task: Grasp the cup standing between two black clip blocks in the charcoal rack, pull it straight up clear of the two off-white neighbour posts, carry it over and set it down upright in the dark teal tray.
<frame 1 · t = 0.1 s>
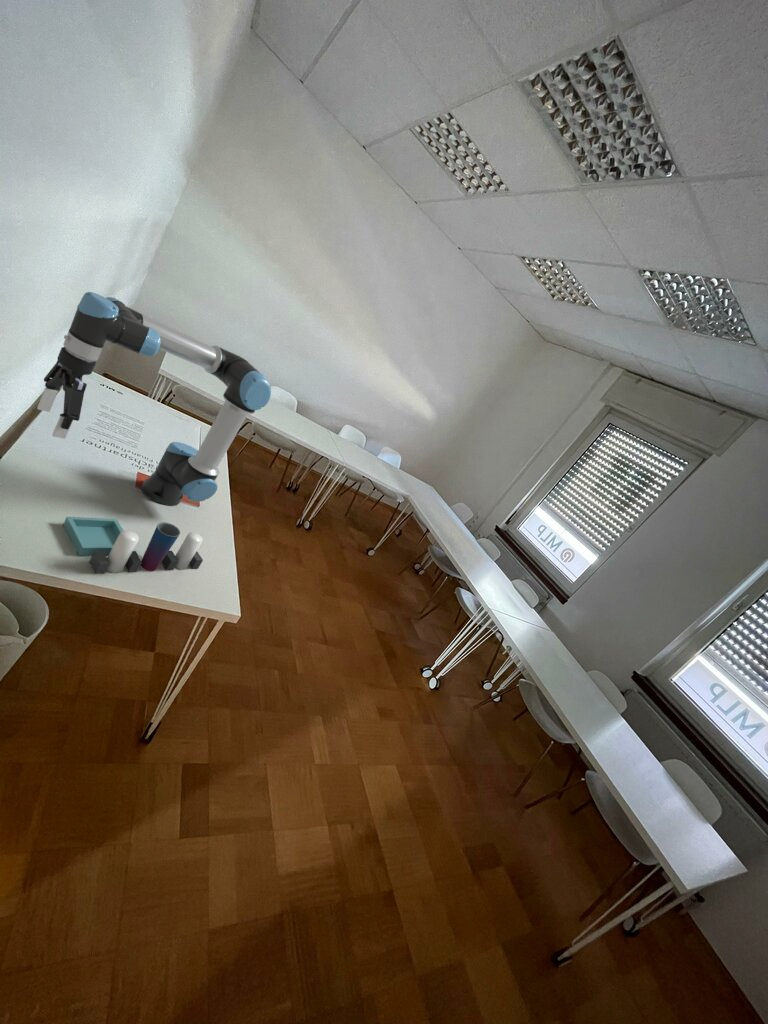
hand: (50, 423, 113), 28 cm above the table, fingers open, 13 cm apart
tray: (97, 540, 128), on the table
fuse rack: (148, 565, 132), on the table
cup: (148, 566, 132), on the table
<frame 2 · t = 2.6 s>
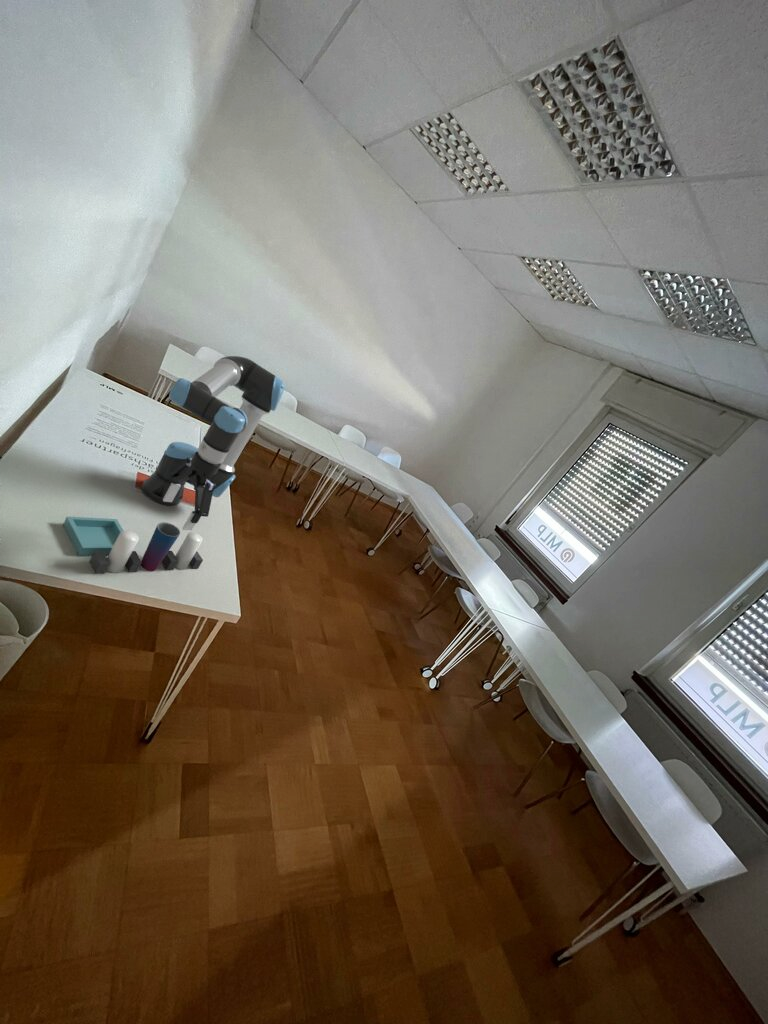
hand: (176, 515, 126), 21 cm above the table, fingers open, 13 cm apart
nothing on the table moved.
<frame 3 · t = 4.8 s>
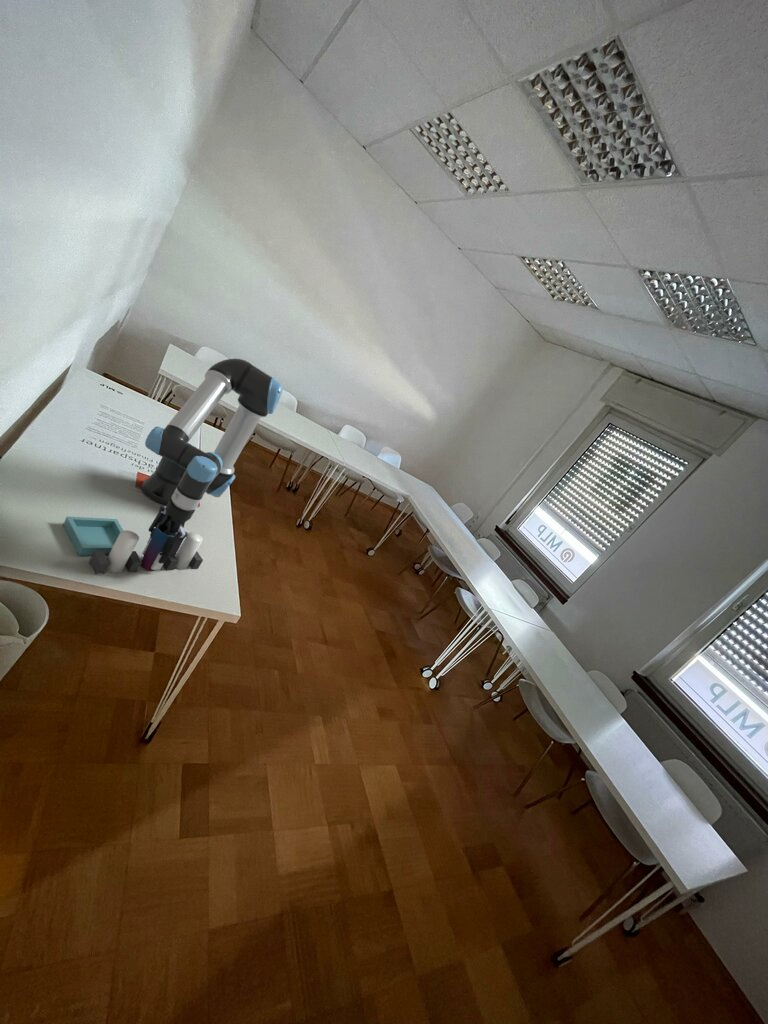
hand: (151, 561, 132), 2 cm above the table, fingers closed on cup, 6 cm apart
cup: (148, 566, 132), on the table, touching gripper
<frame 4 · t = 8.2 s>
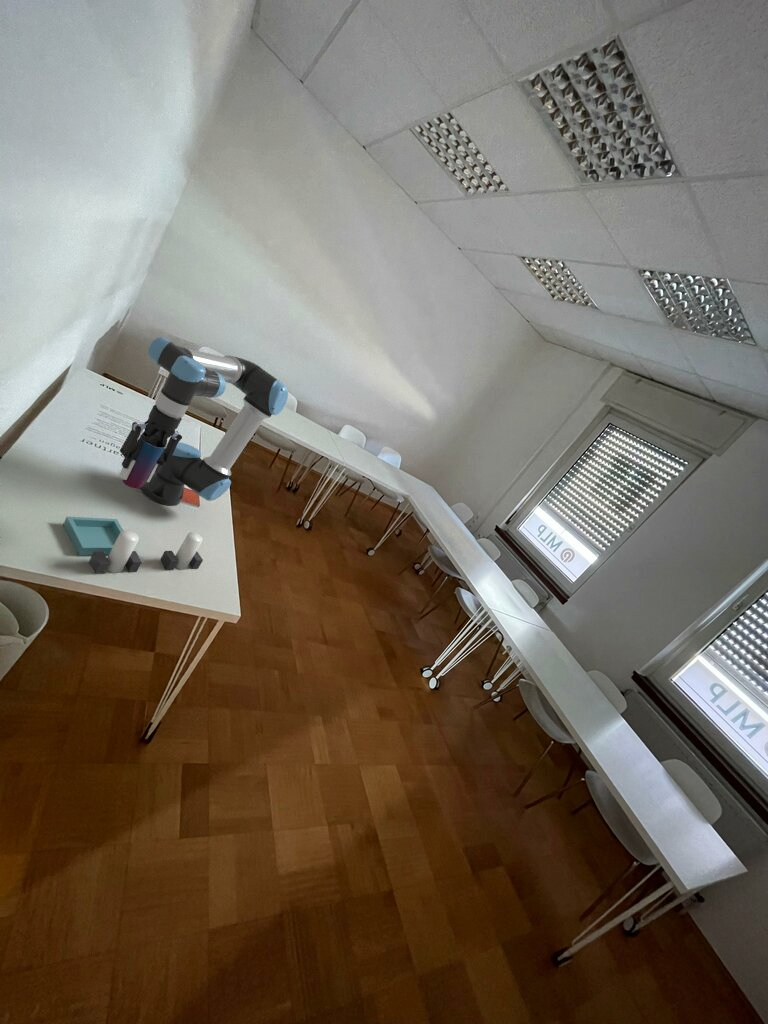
hand: (134, 478, 122), 25 cm above the table, fingers closed on cup, 6 cm apart
cup: (131, 483, 122), point 23 cm above the table, touching gripper
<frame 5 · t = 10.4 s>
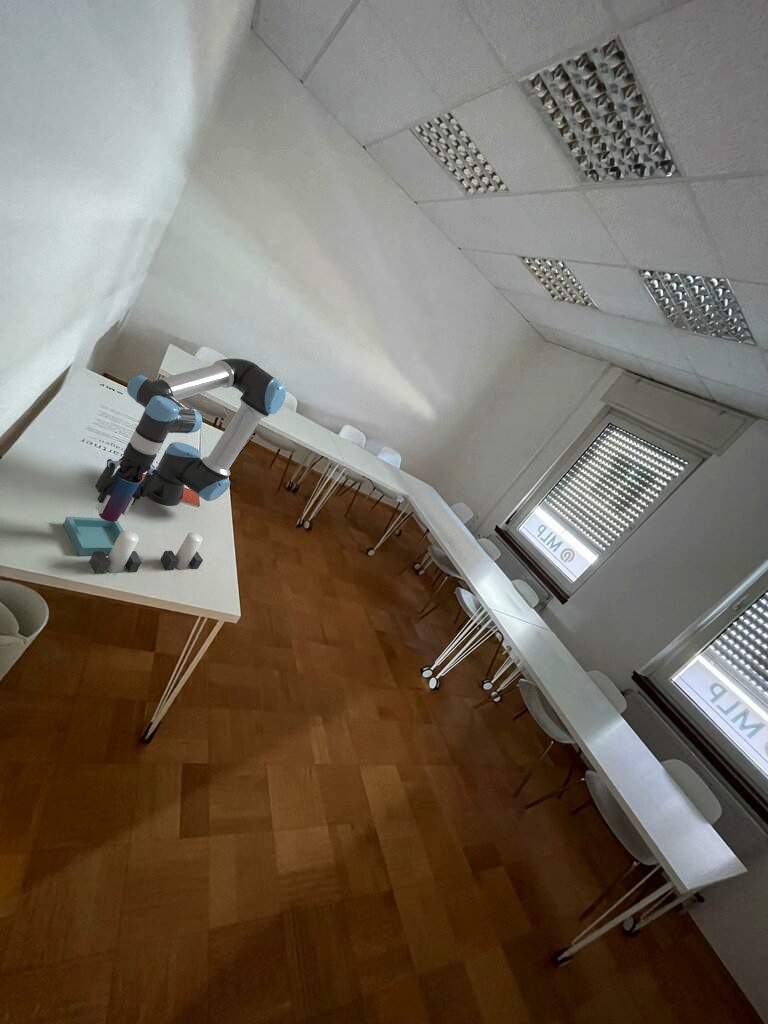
hand: (111, 511, 125), 11 cm above the table, fingers closed on cup, 6 cm apart
cup: (108, 516, 125), point 9 cm above the table, touching gripper
when the fingers open (4 cm above the table, at t = 11.9 s): cup drops 2 cm, resting on tray.
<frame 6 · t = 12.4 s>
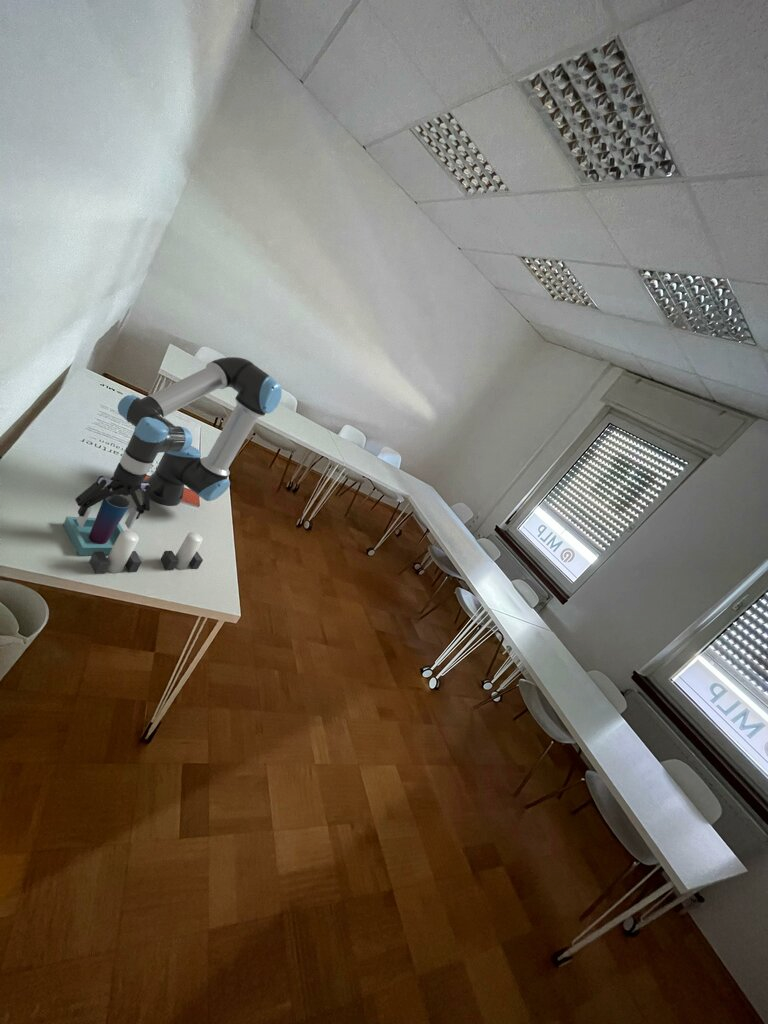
hand: (104, 525, 126), 6 cm above the table, fingers open, 13 cm apart
cup: (98, 539, 128), resting on tray
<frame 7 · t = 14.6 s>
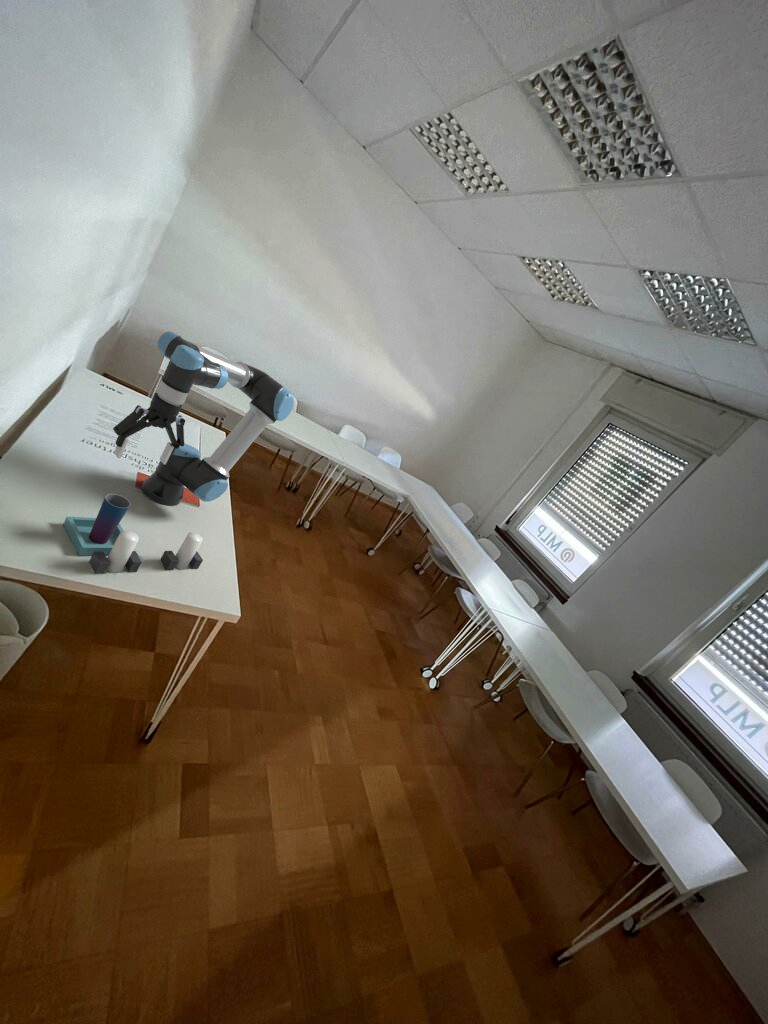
hand: (140, 458, 126), 28 cm above the table, fingers open, 13 cm apart
nothing on the table moved.
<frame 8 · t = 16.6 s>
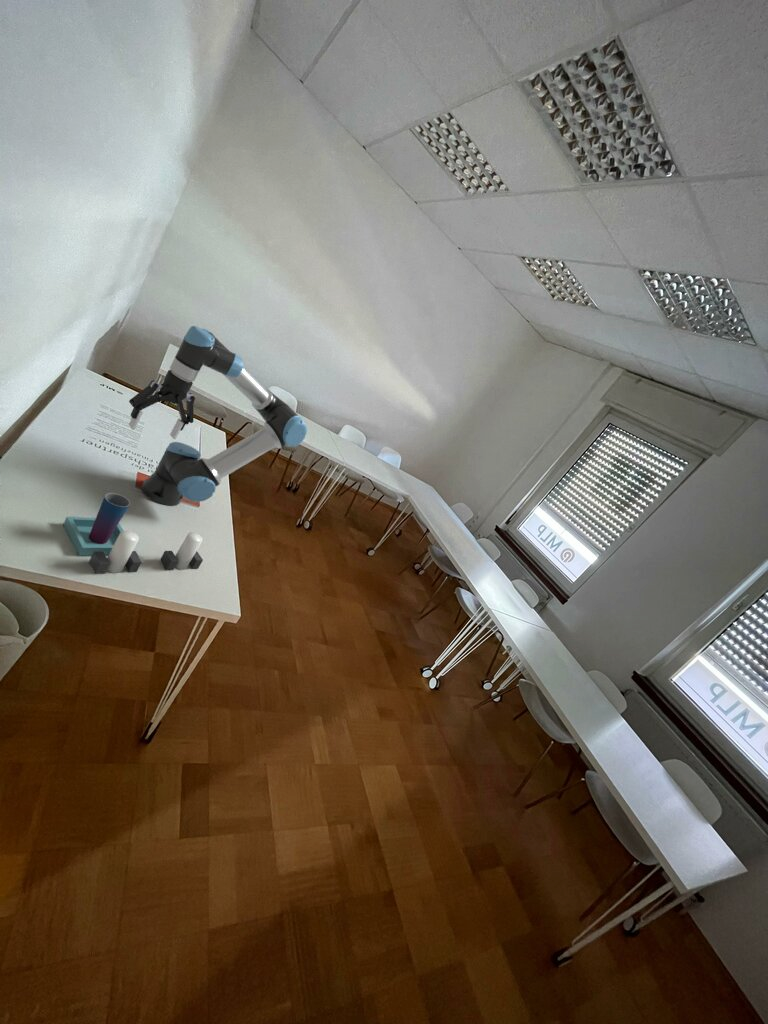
hand: (152, 432, 136), 32 cm above the table, fingers open, 13 cm apart
nothing on the table moved.
at the end: cup inside the target area on the tray (0.2 cm from its centre), point 0.4 cm above the tray's base; cup tilted 1°; the gripper is holding nothing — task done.
